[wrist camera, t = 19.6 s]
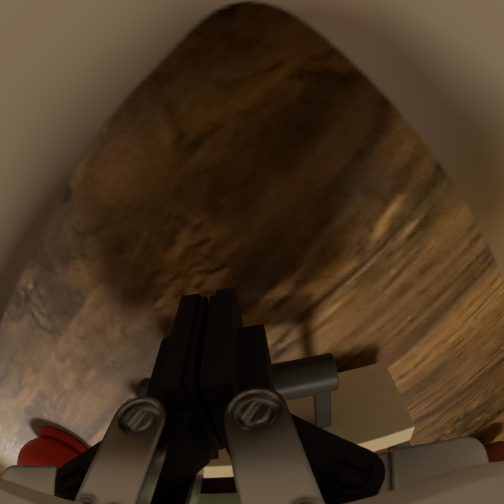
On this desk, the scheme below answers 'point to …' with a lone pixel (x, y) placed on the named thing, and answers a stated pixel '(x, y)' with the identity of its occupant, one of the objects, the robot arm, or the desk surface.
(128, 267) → the desk surface
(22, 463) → the apple
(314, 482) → the robot arm
